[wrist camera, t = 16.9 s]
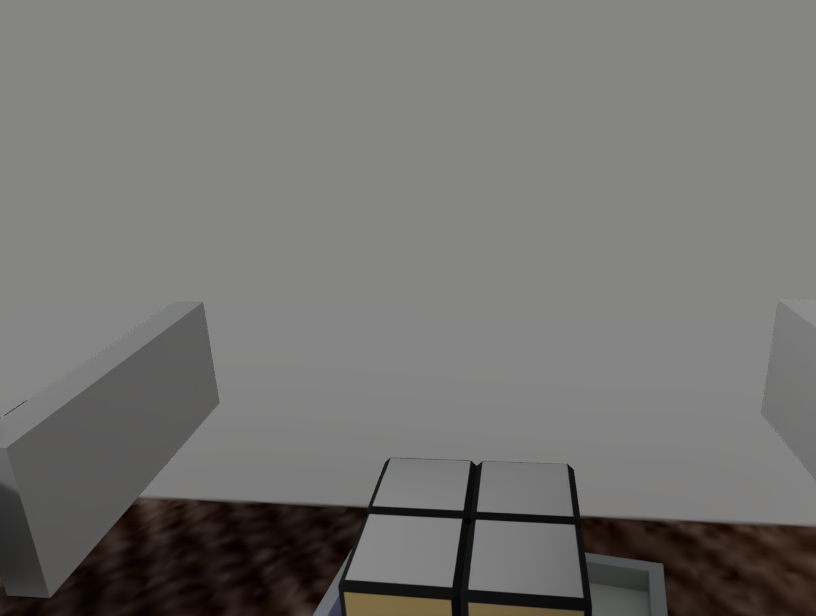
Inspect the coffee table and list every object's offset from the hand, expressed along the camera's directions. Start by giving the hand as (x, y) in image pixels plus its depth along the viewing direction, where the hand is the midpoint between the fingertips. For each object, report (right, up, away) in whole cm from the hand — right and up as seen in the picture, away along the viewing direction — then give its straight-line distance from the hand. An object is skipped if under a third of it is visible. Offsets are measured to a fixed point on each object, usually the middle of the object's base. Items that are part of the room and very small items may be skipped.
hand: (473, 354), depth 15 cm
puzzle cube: (+2, -18, +17) cm, 25 cm away
